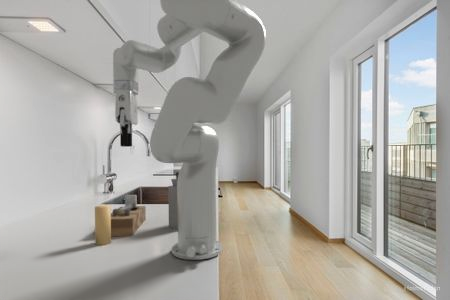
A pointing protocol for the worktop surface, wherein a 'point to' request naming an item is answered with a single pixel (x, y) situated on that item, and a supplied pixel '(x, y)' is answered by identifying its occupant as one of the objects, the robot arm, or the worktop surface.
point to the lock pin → (129, 203)
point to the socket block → (127, 221)
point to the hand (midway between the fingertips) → (126, 146)
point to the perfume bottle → (173, 203)
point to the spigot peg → (102, 225)
